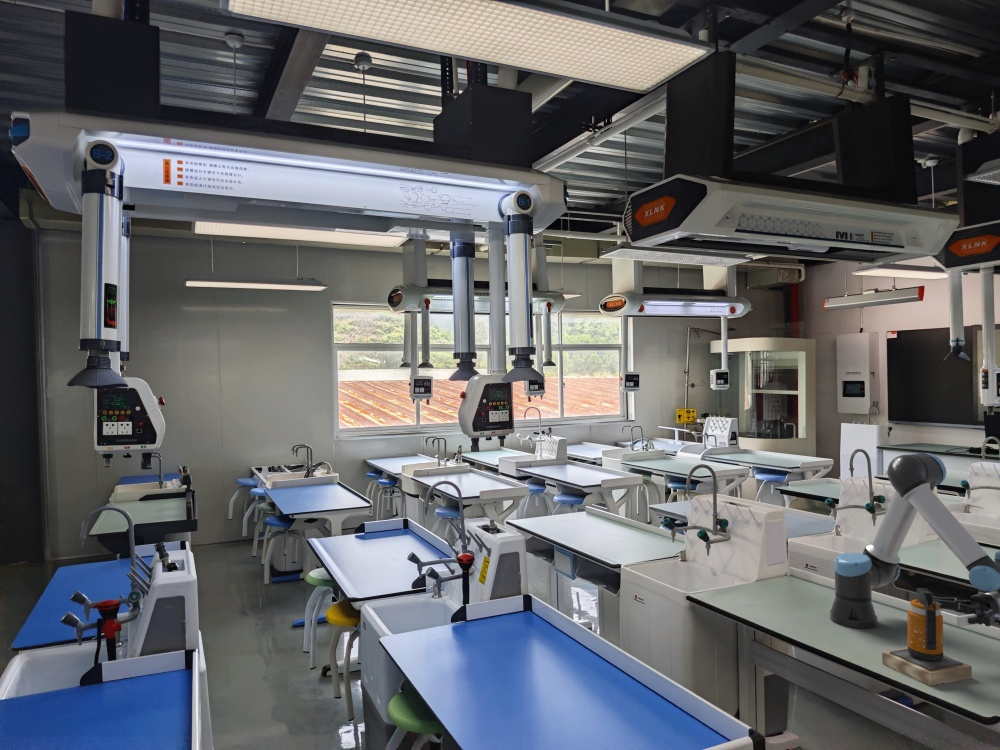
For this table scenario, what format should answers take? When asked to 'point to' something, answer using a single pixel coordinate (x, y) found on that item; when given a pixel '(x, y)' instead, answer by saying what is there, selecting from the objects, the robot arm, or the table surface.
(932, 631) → the canister
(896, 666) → the plinth
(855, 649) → the table surface
